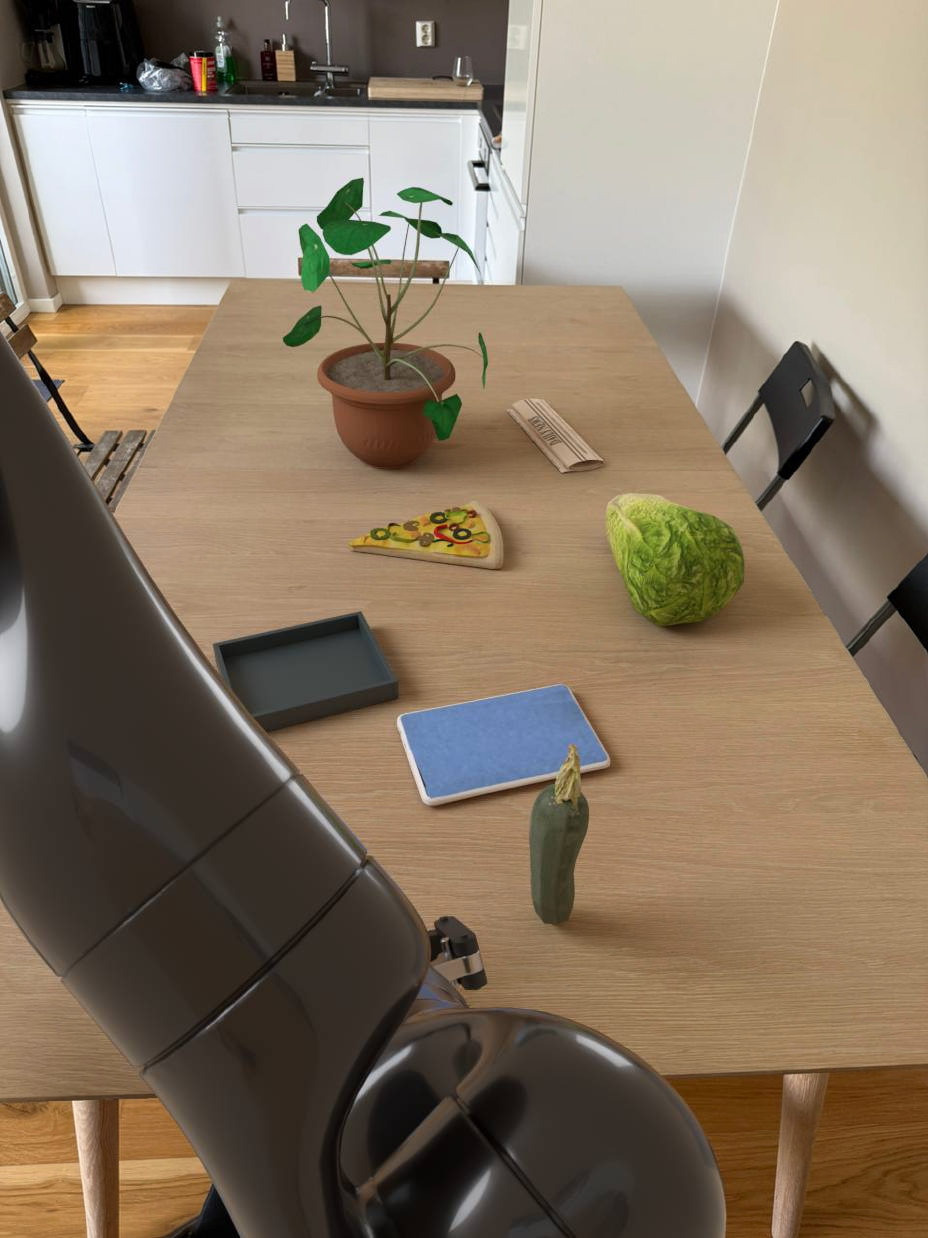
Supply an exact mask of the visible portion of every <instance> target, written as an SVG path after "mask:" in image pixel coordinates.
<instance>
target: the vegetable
mask: <svg viewBox="0 0 928 1238" xmlns="http://www.w3.org/2000/svg"><path fill="white" fill-rule="evenodd" d="M568 747H569V748H570V750H569V753H568V755H569V757H568V758H567V759H566V760H565V761H564V762H563V763H562V766H561V768H560V771H559V772H558V774H557V777H556V779H555V783H552V784H549V785H547V786H546V787H544V788H543V789H541V792H539V794H538V795H537V796H536V798H535V800H534V802H533V804H532V808H531V811H530V818H529V828H528V842H529V843H528V844H529V859H530V860H529V861H530V862H529V863H530V864H529V868H530V878H529V879H530V881H529V882H530V895H531V901H532V905H533V909H534V912H535V914H536V915H537V917H538V918H539V919H540V920H541V921H542V923H543V924H545V925H553V926H559V925H562V924H563V923H565V922H568V921H569V920H570V917H571V914H572V911H573V909H574V903H575V895H576V887H575V870H576V863H577V859H578V857H579V854H580V851H581V850H582V849H581V848H582V846H583V843H584V840H585V838H586V835H587V832H588V828H589V823H590V808H589V803H588V800H587V798H586V797H585V795H584V793H583V792H582V779H581V773H580V762H579V761H580V758H579V756H578V751H577V747H576V746H575V745H572V744H570V745H569V746H568Z"/></svg>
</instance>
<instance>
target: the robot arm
mask: <svg viewBox="0 0 928 1238" xmlns="http://www.w3.org/2000/svg"><path fill="white" fill-rule="evenodd" d="M207 657H208V656H206V654H205V653H204V652H203V650H202V648H201V647H200V646H199V644H198V643H197V642H196V640H195V639H194V638H193V636H192V635H191V633H190V632H189V630H187V628H186V626H185V625H184V624H183V622H182V621H181V620H180V618H179V617H178V615H177V614H176V612H175V611H174V609H173V607H172V606H171V605H170V603H169V601H168V600H167V599H166V597H165V596H164V594H163V593H162V591H161V590H160V588H159V586H158V584H156V582H155V580H153V578H152V576H151V574H150V573H149V571H148V570H147V567H145V565H144V563H143V562H142V560H141V559H140V557H139V555H138V554H137V552H136V550H135V549H134V547H133V546H132V544H131V542H130V541H129V539H128V537H127V535H126V534H125V533H124V531H123V529H122V528H121V526H120V524H119V522H118V521H117V519H116V517H115V515H114V514H113V513H112V510H111V509H110V507H109V505H108V503H107V502H106V500H105V499H104V496H103V495H102V493H101V492H100V490H99V489H98V487H97V485H96V483H95V482H94V480H93V479H92V477H91V476H90V473H89V472H88V470H87V469H86V467H85V466H84V463H83V462H82V461H81V459H80V457H79V455H78V454H77V452H76V450H75V449H74V446H73V444H72V443H71V442H70V440H69V438H68V436H67V434H66V433H65V431H64V430H63V428H62V426H61V425H60V423H59V421H58V420H57V418H56V416H55V414H54V413H53V411H52V410H51V408H50V406H49V404H48V403H47V401H46V399H45V398H44V396H43V395H42V393H41V392H40V389H39V388H38V387H37V385H36V384H35V382H34V381H33V379H32V377H31V376H30V375H29V373H28V371H27V370H26V369H25V367H24V365H23V363H22V362H21V361H20V359H19V357H18V356H17V354H16V352H15V351H14V349H13V348H12V346H11V344H10V343H9V341H8V340H7V338H6V336H5V334H4V333H3V331H2V329H0V903H1V904H2V907H3V908H4V910H5V912H6V913H7V914H8V916H9V917H10V919H11V920H12V921H13V923H14V924H15V926H16V927H17V929H18V930H19V931H20V933H21V934H22V935H23V936H22V937H24V938H25V940H26V941H27V943H28V944H29V945H30V946H31V948H32V949H33V950H34V951H35V953H37V955H38V956H39V958H41V960H42V961H43V962H44V963H45V965H46V966H47V967H48V968H49V970H51V971H52V973H53V974H54V975H55V976H56V977H57V978H60V982H61V984H62V985H63V986H64V987H65V988H66V990H67V991H68V992H69V994H71V996H72V997H73V998H74V999H75V1001H76V1002H77V1003H78V1004H79V1006H81V1008H82V1009H83V1010H84V1011H85V1012H86V1014H87V1015H88V1016H89V1017H90V1018H91V1020H92V1021H93V1022H94V1023H95V1025H96V1026H97V1027H98V1028H99V1029H100V1030H101V1032H102V1033H103V1034H104V1035H105V1036H106V1038H107V1039H108V1040H109V1042H111V1044H112V1045H113V1046H114V1047H115V1048H116V1050H117V1051H118V1052H119V1053H120V1055H121V1056H122V1057H123V1058H124V1059H125V1060H126V1061H127V1063H128V1064H129V1065H130V1066H131V1067H132V1068H134V1069H139V1070H138V1076H139V1077H140V1078H141V1080H142V1081H143V1082H144V1083H145V1085H147V1087H148V1088H149V1089H150V1091H151V1092H152V1093H153V1094H154V1095H155V1097H156V1098H157V1099H158V1100H159V1102H160V1103H161V1104H162V1105H163V1107H164V1108H165V1110H166V1111H167V1112H168V1114H169V1115H170V1117H171V1118H172V1119H173V1121H174V1122H175V1124H176V1125H177V1127H178V1129H180V1131H181V1133H182V1134H183V1135H184V1137H185V1139H186V1140H187V1142H188V1143H189V1145H190V1146H191V1148H192V1150H193V1152H194V1153H195V1154H196V1156H197V1158H198V1159H199V1161H200V1163H201V1165H202V1167H203V1168H204V1170H205V1172H206V1173H207V1175H208V1177H209V1179H210V1181H211V1183H212V1184H213V1186H214V1189H215V1190H216V1191H217V1194H218V1195H219V1197H220V1199H221V1201H222V1203H223V1205H224V1207H225V1209H226V1211H227V1213H228V1215H229V1217H230V1219H231V1222H232V1223H233V1225H234V1228H235V1230H236V1231H237V1233H238V1235H239V1237H240V1238H726V1231H727V1229H726V1228H727V1207H726V1196H725V1195H726V1194H725V1186H724V1183H723V1179H722V1175H721V1171H720V1167H719V1164H718V1159H717V1157H716V1155H715V1154H716V1153H715V1152H714V1149H713V1147H712V1145H711V1143H710V1141H709V1139H708V1136H707V1135H706V1132H705V1130H704V1128H703V1126H702V1125H701V1123H700V1121H699V1120H698V1118H697V1117H696V1115H695V1113H694V1111H693V1110H692V1109H691V1108H690V1106H689V1105H688V1104H687V1102H686V1101H685V1099H684V1098H683V1097H682V1096H681V1094H679V1092H678V1091H677V1090H676V1089H675V1088H674V1087H673V1086H672V1084H671V1083H670V1082H669V1081H668V1080H667V1079H666V1078H665V1077H664V1076H663V1075H662V1074H661V1073H660V1072H659V1071H658V1070H656V1069H655V1068H654V1067H653V1066H652V1065H651V1064H649V1063H648V1062H647V1061H645V1059H643V1058H642V1057H641V1056H640V1055H638V1054H637V1053H635V1052H634V1051H633V1050H631V1049H630V1048H628V1047H626V1046H625V1045H623V1044H621V1043H619V1042H618V1041H616V1040H614V1039H613V1038H612V1037H609V1036H608V1035H606V1034H604V1033H602V1032H601V1031H599V1030H597V1029H595V1028H592V1027H590V1026H588V1025H586V1024H583V1023H581V1022H579V1021H577V1020H574V1019H572V1018H571V1019H570V1018H568V1017H565V1016H562V1015H560V1014H555V1013H551V1012H547V1011H542V1010H537V1009H531V1008H520V1007H510V1006H509V1007H507V1006H503V1007H501V1006H498V1007H497V1006H495V1007H492V1006H491V1007H490V1006H489V1007H470V1005H469V1004H468V1002H467V1001H466V999H465V998H464V996H463V995H462V994H461V992H460V991H459V990H458V989H457V988H456V987H459V986H461V987H463V989H464V990H465V991H478V990H480V989H482V988H484V987H485V986H487V984H488V982H489V981H488V978H487V975H486V970H485V965H484V962H483V958H482V954H481V950H480V946H479V941H478V939H477V934H476V933H475V932H473V931H472V930H471V929H470V928H469V927H468V926H467V925H466V924H464V923H463V922H462V921H460V919H458V918H457V917H456V916H453V915H450V916H449V915H443V916H441V917H439V918H438V919H436V920H434V922H433V925H434V926H433V927H434V929H430V930H428V928H427V927H426V924H425V922H424V920H423V918H422V917H421V915H420V913H419V912H418V911H417V909H416V907H415V906H414V904H413V903H412V902H411V901H412V900H410V899H409V897H407V895H406V893H404V891H403V890H402V888H400V886H399V885H398V884H397V882H396V881H395V880H394V879H393V878H392V877H391V875H389V873H387V871H386V870H385V869H384V868H383V867H382V865H381V864H380V863H379V862H378V861H377V860H376V858H374V857H375V856H373V855H371V854H368V849H367V848H366V847H365V845H364V844H363V843H362V842H361V841H360V840H359V838H358V837H357V836H356V835H355V834H354V833H353V831H352V830H351V829H350V828H349V826H347V825H346V823H345V822H344V820H342V819H341V817H340V816H339V815H338V814H337V813H336V812H335V810H334V809H333V808H332V807H331V805H330V804H329V803H328V802H327V801H326V799H324V797H323V796H322V795H321V793H320V792H319V791H318V790H317V789H316V788H315V787H314V785H313V784H312V783H311V782H310V781H309V779H307V777H306V776H305V775H304V774H303V773H301V770H300V769H299V768H298V767H297V765H296V764H295V763H294V762H293V761H292V760H291V759H290V757H289V756H288V755H287V754H286V753H285V752H284V751H283V749H281V747H280V746H279V745H278V743H276V741H274V739H273V738H272V737H271V735H269V733H268V732H266V731H265V730H264V729H263V728H262V727H261V726H260V725H259V723H258V722H257V721H256V720H255V719H254V718H253V716H252V715H251V714H250V713H249V711H248V710H247V709H246V708H245V706H244V705H243V704H242V702H241V701H240V700H239V699H238V697H237V696H236V695H235V694H234V692H233V691H232V690H231V688H230V687H229V686H228V685H227V683H226V682H225V681H224V680H223V678H222V677H221V676H220V673H219V671H218V670H217V669H216V668H215V667H214V665H213V664H212V663H211V661H210V660H209V659H208V658H207Z"/></svg>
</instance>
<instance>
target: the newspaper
mask: <svg viewBox="0 0 928 1238" xmlns="http://www.w3.org/2000/svg"><path fill="white" fill-rule="evenodd" d="M506 412H507V413H508V414H509V415H510V416H511V418H513V420H514V421H515V422H516V424H517V425H519V427H520V428H521V429H522V430H523V431H524V432H525V433H526V434H527V436H529V438H530V439H531V440H532V441H533V442H534V443H535V445H536V446H537V447H538V448H539V449H540V450H541V451H542V452H543V454H544V455H545V456H546V457H547V458H548V459H549V461H550V462H551V463H552V464H553V465H554V467H556V469H557V470H559V472H560V473H561V474H563V473H567V472H581V471H583V472H584V471H589V470H595V469H598V468H601V467H602V466H604V465H605V461H604V460H603V459H602V458H601V456H599V455H598V453H597V452H596V451H595V450H594V449H592V447H591V446H590V445H589V444H588V443H587V442H586V441H585V440H584V439H583V438H582V437H581V436H580V435H579V434H578V433H577V432H576V431H575V430H574V429H573V428H572V427H571V426H570V425H569V424H568V423H567V421H565V420H564V419H563V418H562V417H561V415H559V413H558V412H556V411H555V409H553V408H552V407H551V406H550V405H549V404H548V403H547V401H545V399H542V398H525V399H521V400H518V401H516V402H514V403H512V408H507V409H506Z"/></svg>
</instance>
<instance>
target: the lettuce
mask: <svg viewBox="0 0 928 1238" xmlns="http://www.w3.org/2000/svg"><path fill="white" fill-rule="evenodd" d="M604 530H605V535H606V539H607V542H608V545H609V548H610V551H611V555H612V557H613V559H614V562H615V564H616V567H617V569H618V571H619V573H620V576H621V578H622V580H623V582H624V586H625V589H626V591H627V595H628V597H629V600H630V605H631V608H632V610H634V611H635V612H637V613H638V614H640V615H641V616H642V617H644V618H645V619H647V620H648V621H649V622H652V623H653V624H654V625H656V626H657V627H659V628H662V627H667V626H673V625H679V624H693V623H695V624H696V623H700V622H702V621H705V620H707V619H709V618H712V617H714V616H717V615H718V614H720V613H721V611H722V610H723V609H724V608H726V607H727V605H728V604H730V603H731V601H732V600H733V599H734V597H735V596H736V595H737V593H738V592H739V591H740V589H741V588H742V586H743V585H744V583H745V556H744V550H743V546H742V544H741V542H740V539H739V538H738V535H737V533H736V531H735V528H733V527H732V526H731V525H729V524H727V523H726V522H724V521H723V520H721V519H720V518H718V517H716V516H715V515H712V514H709V513H707V512H704V511H699V510H696V509H693V508H691V507H689V506H686V505H683V504H680V503H676V502H673V501H672V500H670V499H669V498H667V497H665V496H663V494H662V495H661V494H653V493H633V492H632V493H631V492H628V493H624V494H621V493H619V494H617V495H616V496H615V497H614V498H613V499H611V500H610V501H608V502H607V507H606V510H605V514H604Z"/></svg>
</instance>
